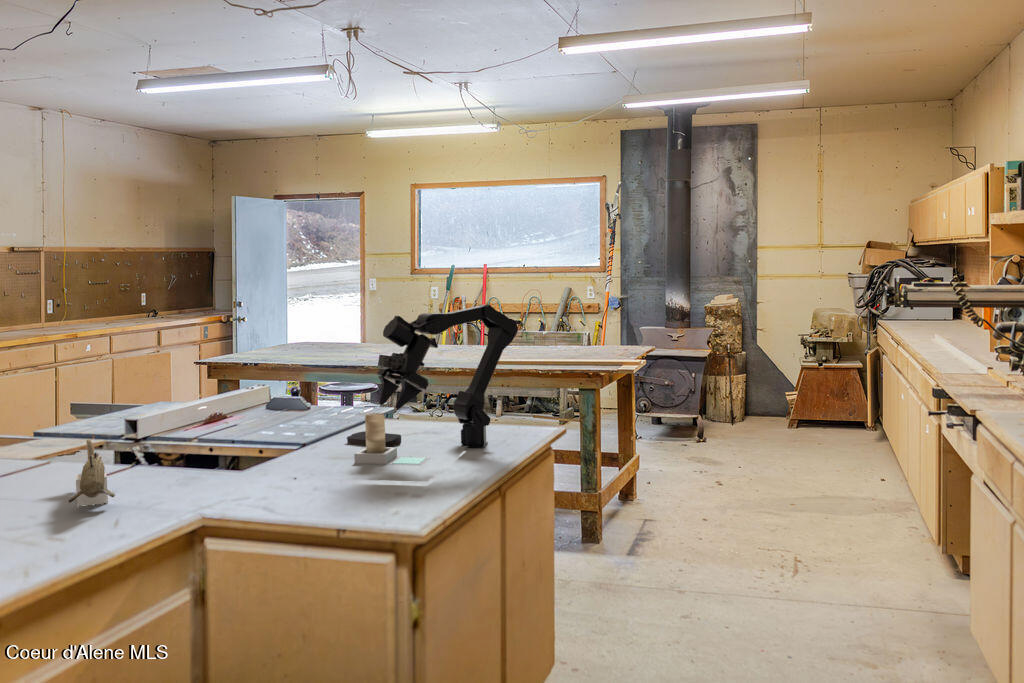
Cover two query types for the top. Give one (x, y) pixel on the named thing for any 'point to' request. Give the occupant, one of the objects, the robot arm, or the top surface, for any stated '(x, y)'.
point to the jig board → (387, 458)
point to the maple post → (375, 433)
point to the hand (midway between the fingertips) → (388, 406)
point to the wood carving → (92, 481)
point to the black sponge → (361, 439)
